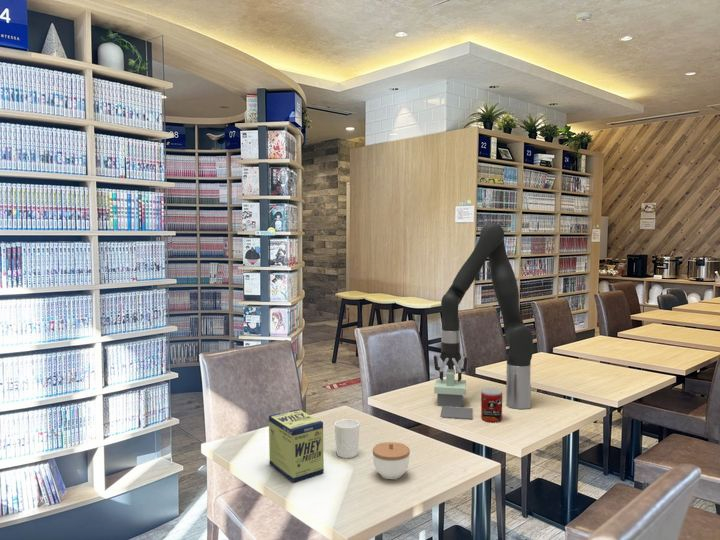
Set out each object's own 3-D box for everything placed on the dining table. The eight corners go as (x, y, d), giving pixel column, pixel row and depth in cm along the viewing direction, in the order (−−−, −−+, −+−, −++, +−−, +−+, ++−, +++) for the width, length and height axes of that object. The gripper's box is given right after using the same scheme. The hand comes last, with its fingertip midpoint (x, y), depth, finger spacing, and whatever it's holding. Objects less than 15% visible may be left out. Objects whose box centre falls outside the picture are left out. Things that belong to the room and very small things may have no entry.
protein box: (293, 483, 150) (292, 429, 149) (268, 464, 163) (267, 414, 162) (324, 473, 156) (324, 421, 155) (298, 456, 169) (297, 408, 168)
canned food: (480, 422, 197) (481, 393, 197) (481, 415, 205) (481, 386, 204) (502, 423, 196) (502, 394, 195) (501, 416, 203) (502, 388, 203)
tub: (462, 399, 224) (463, 383, 224) (462, 407, 214) (462, 390, 214) (439, 398, 226) (439, 382, 226) (437, 405, 216) (437, 388, 216)
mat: (472, 409, 212) (472, 408, 212) (472, 419, 200) (472, 418, 200) (442, 407, 214) (442, 406, 214) (440, 417, 202) (440, 416, 202)
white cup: (331, 451, 172) (331, 420, 172) (354, 447, 175) (354, 417, 174) (339, 460, 165) (339, 429, 164) (363, 456, 168) (363, 425, 167)
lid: (465, 386, 225) (466, 368, 224) (465, 395, 213) (465, 376, 212) (436, 384, 227) (436, 367, 227) (434, 393, 215) (434, 374, 215)
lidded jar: (365, 475, 155) (364, 443, 154) (390, 463, 162) (389, 433, 162) (392, 487, 147) (392, 454, 147) (417, 474, 155) (417, 443, 154)
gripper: (468, 339, 221) (468, 379, 222) (433, 338, 224) (433, 377, 225) (468, 343, 213) (468, 384, 214) (432, 342, 216) (432, 382, 217)
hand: (450, 380), depth 220 cm, fingers open, 6 cm apart
